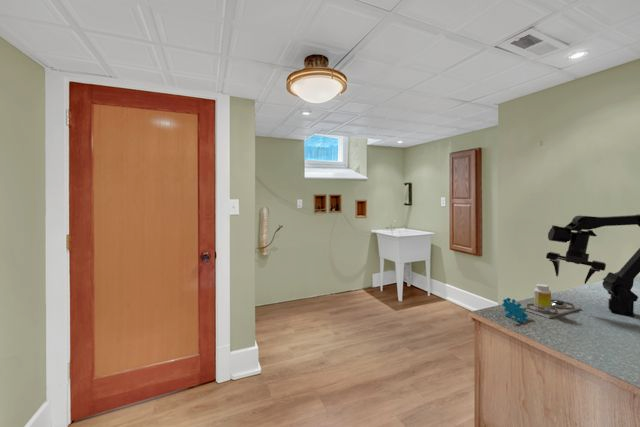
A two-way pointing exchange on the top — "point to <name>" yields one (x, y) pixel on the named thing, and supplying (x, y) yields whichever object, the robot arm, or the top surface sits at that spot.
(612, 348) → the top surface
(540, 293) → the supplement bottle
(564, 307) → the flange plate
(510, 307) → the gear
